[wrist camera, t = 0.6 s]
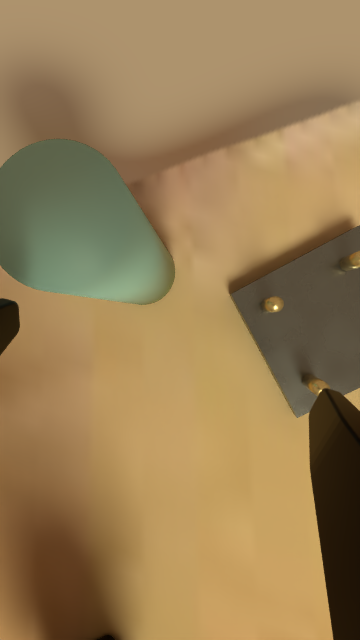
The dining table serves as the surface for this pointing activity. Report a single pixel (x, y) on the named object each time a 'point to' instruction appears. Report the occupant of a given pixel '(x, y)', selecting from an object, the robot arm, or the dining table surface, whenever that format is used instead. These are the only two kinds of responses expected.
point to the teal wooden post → (78, 227)
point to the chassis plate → (309, 321)
